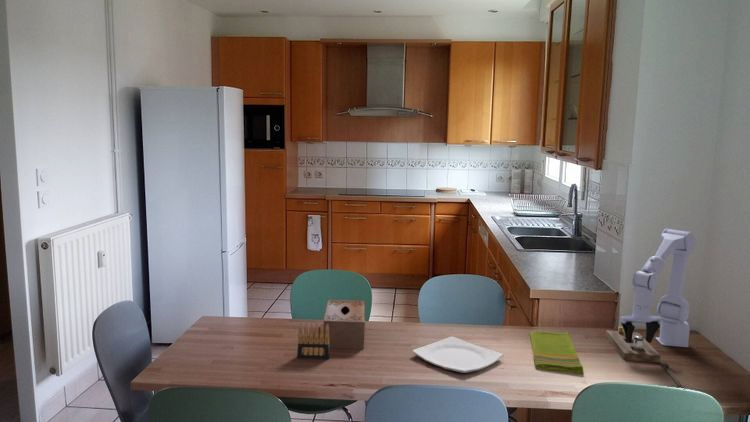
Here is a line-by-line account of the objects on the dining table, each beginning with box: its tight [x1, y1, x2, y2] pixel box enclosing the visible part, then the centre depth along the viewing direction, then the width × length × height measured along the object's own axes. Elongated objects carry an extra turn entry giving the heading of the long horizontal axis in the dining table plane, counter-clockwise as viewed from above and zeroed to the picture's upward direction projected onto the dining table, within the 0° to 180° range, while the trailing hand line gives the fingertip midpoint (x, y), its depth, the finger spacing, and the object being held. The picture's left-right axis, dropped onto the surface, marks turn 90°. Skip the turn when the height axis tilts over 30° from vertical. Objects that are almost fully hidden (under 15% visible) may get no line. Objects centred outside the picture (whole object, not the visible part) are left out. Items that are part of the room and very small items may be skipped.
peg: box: [633, 335, 645, 351], centre depth 205 cm, size 3×3×7 cm
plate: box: [411, 336, 504, 374], centre depth 196 cm, size 24×24×3 cm
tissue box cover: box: [322, 299, 366, 350], centre depth 214 cm, size 26×14×10 cm, turn 1°
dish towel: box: [529, 331, 584, 375], centre depth 205 cm, size 15×36×3 cm, turn 168°
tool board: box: [605, 329, 661, 363], centre depth 212 cm, size 12×24×2 cm, turn 173°
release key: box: [617, 326, 626, 337], centre depth 219 cm, size 4×5×2 cm
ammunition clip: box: [296, 322, 330, 360], centre depth 192 cm, size 11×2×12 cm, turn 91°
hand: (638, 342), depth 204 cm, fingers open, 7 cm apart
